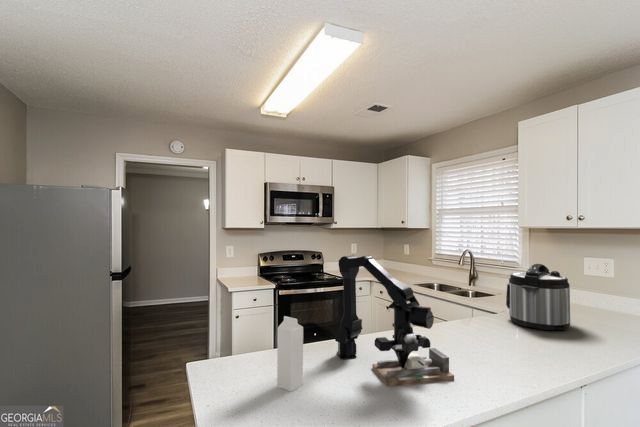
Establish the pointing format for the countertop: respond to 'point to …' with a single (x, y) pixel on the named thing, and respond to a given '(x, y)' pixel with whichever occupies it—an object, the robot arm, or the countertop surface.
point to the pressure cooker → (539, 299)
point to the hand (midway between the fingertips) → (402, 367)
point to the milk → (290, 354)
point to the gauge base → (415, 371)
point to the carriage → (416, 361)
